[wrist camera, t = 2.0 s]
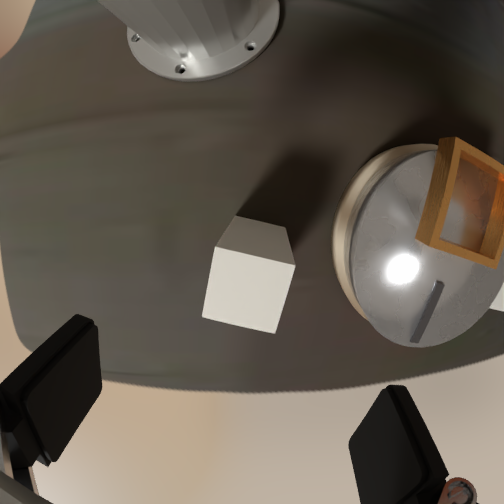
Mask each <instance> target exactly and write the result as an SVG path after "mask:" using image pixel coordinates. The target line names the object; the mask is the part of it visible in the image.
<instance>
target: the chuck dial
mask: <svg viewBox="0 0 504 504" xmlns="http://www.w3.org/2000/svg"><path fill="white" fill-rule="evenodd" d="M344 265H345V273H346V276H347V280H348V284H349V286H350V288H351V291H352V293H353V295H354V297H355V298H356V300H357V302H358V303H359V305H360V307H361V308H362V310H363V312H364V313H365V315H366V317H367V318H368V320H369V322H370V323H371V324H372V325H373V327H374V328H375V329H376V330H377V331H378V332H379V333H380V334H382V335H383V336H384V337H386V338H387V339H389V340H391V341H392V342H395V343H397V344H400V345H404V346H409V347H429V346H434V345H438V344H441V343H444V342H447V341H449V340H451V339H453V338H455V337H457V336H459V335H460V334H462V333H463V332H465V331H466V330H468V329H469V328H470V327H471V326H472V325H474V324H475V323H476V322H477V321H478V320H479V319H480V318H481V317H482V316H483V314H484V313H485V312H486V311H487V310H488V308H489V307H490V306H491V304H492V303H493V301H494V300H495V298H496V296H497V295H498V293H499V291H500V289H501V287H502V285H503V282H504V166H503V165H502V164H500V163H499V162H497V161H496V160H494V159H493V158H491V157H490V156H488V155H486V154H485V153H483V152H482V151H480V150H478V149H477V148H475V147H473V146H471V145H470V144H468V143H466V142H464V141H463V140H461V139H459V138H457V137H446V138H439V144H438V149H437V150H421V151H413V152H410V153H407V154H403V155H401V156H399V157H397V158H395V159H393V160H392V161H390V162H389V163H387V164H386V165H384V166H383V167H382V168H381V169H380V170H379V171H378V172H376V173H375V174H374V175H373V177H372V178H371V179H370V180H369V181H368V182H367V184H366V185H365V187H364V188H363V190H362V191H361V193H360V194H359V196H358V198H357V200H356V202H355V204H354V206H353V208H352V211H351V214H350V217H349V220H348V223H347V228H346V232H345V239H344Z"/></svg>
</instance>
